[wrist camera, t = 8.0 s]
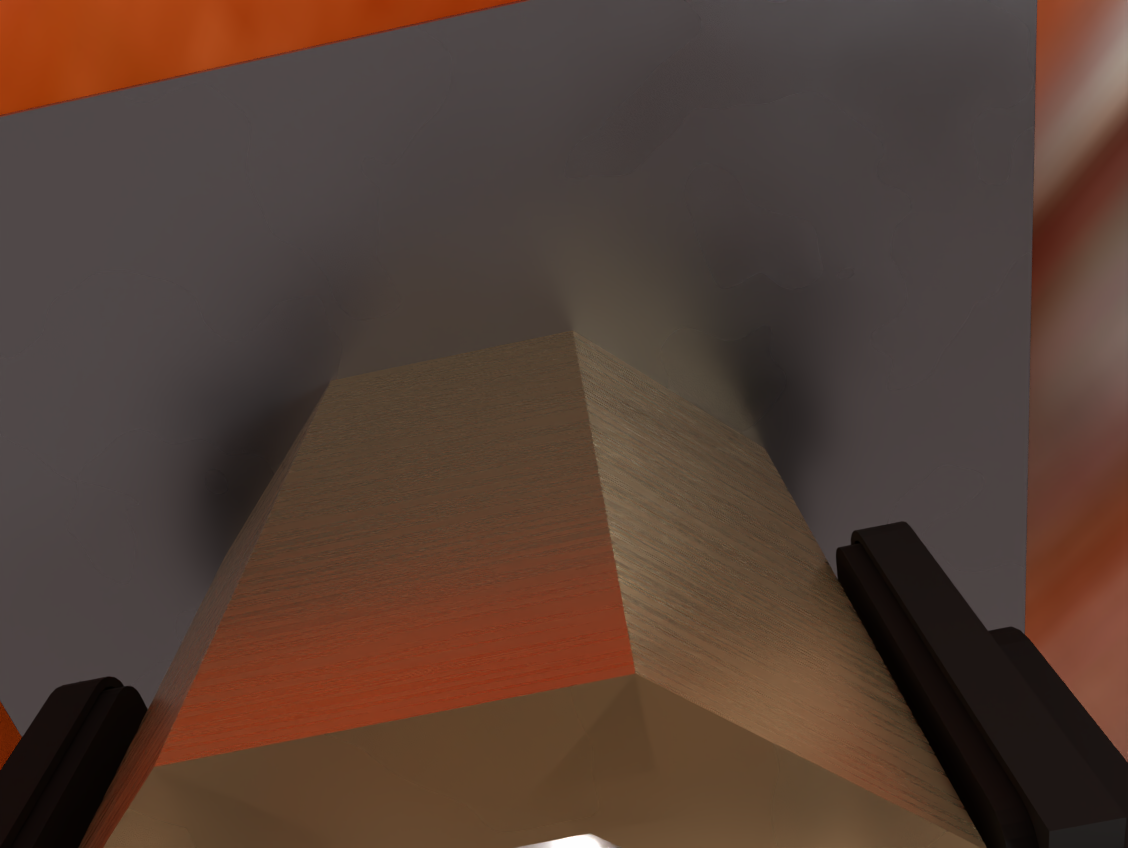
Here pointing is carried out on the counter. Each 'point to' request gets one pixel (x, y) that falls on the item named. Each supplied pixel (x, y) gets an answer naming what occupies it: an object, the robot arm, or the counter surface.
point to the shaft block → (515, 277)
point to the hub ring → (526, 638)
